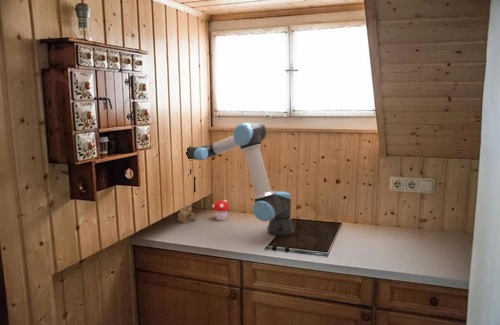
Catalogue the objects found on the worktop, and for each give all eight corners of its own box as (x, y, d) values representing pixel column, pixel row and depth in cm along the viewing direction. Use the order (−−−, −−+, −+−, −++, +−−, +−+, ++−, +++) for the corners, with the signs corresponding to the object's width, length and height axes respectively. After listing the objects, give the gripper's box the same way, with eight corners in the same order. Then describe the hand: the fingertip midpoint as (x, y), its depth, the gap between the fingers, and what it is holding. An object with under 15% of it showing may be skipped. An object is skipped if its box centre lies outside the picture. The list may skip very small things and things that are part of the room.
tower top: (187, 211, 271) (187, 204, 270) (191, 213, 267) (191, 205, 266) (180, 213, 268) (180, 205, 267) (184, 214, 264) (184, 207, 263)
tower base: (188, 218, 274) (188, 210, 273) (195, 221, 268) (194, 213, 267) (178, 220, 269) (178, 213, 268) (184, 223, 263) (184, 215, 262)
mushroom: (217, 222, 265) (216, 203, 263) (209, 217, 274) (209, 199, 272) (232, 219, 270) (232, 201, 268) (224, 215, 279) (224, 197, 277)
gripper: (194, 165, 271) (196, 201, 275) (168, 168, 260) (170, 205, 264) (201, 167, 266) (202, 203, 269) (174, 170, 255) (175, 208, 258)
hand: (186, 204), depth 267 cm, fingers open, 5 cm apart
